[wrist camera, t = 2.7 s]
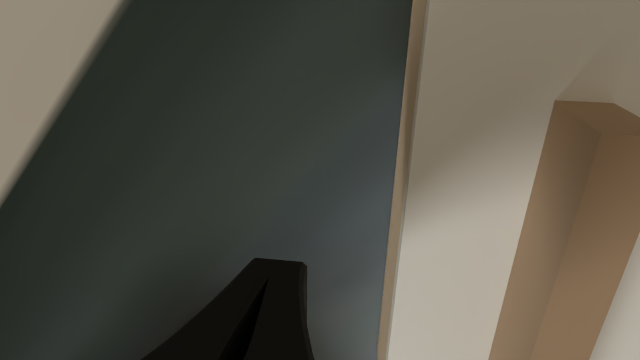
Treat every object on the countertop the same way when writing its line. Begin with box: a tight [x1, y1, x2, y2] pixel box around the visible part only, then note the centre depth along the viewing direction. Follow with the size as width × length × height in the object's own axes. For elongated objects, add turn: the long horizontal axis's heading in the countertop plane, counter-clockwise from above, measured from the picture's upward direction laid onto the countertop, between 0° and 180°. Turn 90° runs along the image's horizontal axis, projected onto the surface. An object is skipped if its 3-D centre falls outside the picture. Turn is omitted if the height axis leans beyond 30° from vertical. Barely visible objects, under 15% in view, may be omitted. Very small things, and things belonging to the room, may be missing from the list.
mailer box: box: [377, 0, 427, 360], centre depth 14 cm, size 16×12×4 cm
